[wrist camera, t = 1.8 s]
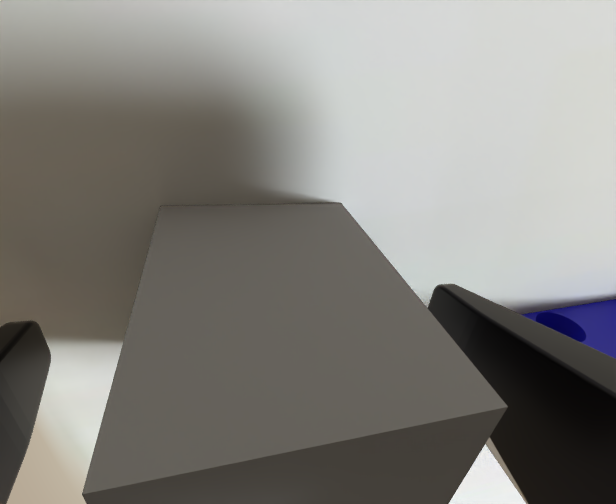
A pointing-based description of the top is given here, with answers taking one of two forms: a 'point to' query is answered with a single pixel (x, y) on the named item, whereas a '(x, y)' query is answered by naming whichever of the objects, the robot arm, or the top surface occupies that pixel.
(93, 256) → the top surface
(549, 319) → the cable clip
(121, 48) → the top surface
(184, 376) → the gray rectangular block
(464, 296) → the robot arm
